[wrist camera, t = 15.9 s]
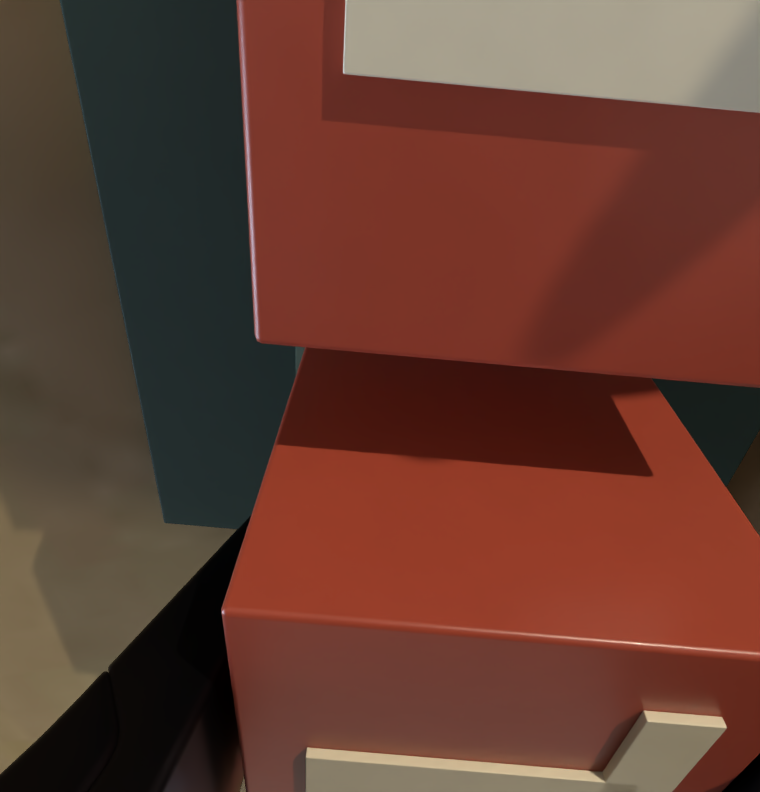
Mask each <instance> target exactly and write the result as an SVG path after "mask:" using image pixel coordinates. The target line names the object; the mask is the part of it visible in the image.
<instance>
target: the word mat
mask: <svg viewBox="0 0 760 792" xmlns="http://www.w3.org/2000/svg"><path fill="white" fill-rule="evenodd" d="M60 3H61V8H62V13H63V18H64V23H65V28H66V33H67V38H68V43H69V48H70V53H71V58H72V63H73V68H74V73H75V78H76V83H77V88H78V93H79V98H80V103H81V108H82V113H83V118H84V123H85V128H86V133H87V138H88V143H89V148H90V153H91V158H92V163H93V168H94V173H95V178H96V183H97V188H98V193H99V198H100V203H101V208H102V213H103V218H104V223H105V228H106V233H107V238H108V243H109V248H110V253H111V258H112V263H113V268H114V273H115V278H116V283H117V288H118V293H119V298H120V303H121V308H122V313H123V318H124V323H125V328H126V333H127V338H128V343H129V348H130V353H131V358H132V363H133V368H134V373H135V378H136V383H137V388H138V393H139V398H140V403H141V408H142V413H143V418H144V423H145V428H146V433H147V438H148V443H149V448H150V453H151V458H152V463H153V468H154V473H155V478H156V483H157V488H158V493H159V498H160V503H161V508H162V513H163V518H164V522H165V523H172V524H184V525H195V526H207V527H219V528H230V529H238V528H239V527H240V526H241V525H242V524H243V523H244V522H245V521H246V520H247V519H248V518H249V517H250V516H251V514H252V512H253V509H254V505H255V502H256V499H257V496H258V493H259V490H260V487H261V484H262V480H263V477H264V474H265V471H266V468H267V465H268V462H269V459H270V456H271V452H272V449H273V446H274V443H275V440H276V437H277V434H278V431H279V427H280V424H281V421H282V418H283V415H284V412H285V409H286V406H287V402H288V399H289V396H290V393H291V390H292V387H293V384H294V381H295V377H296V374H297V371H298V368H299V365H300V362H301V359H302V356H303V352H304V349H305V347H296V346H285V345H274V344H263V343H260V342H258V341H257V339H256V337H255V333H254V314H253V296H252V278H251V259H250V241H249V223H248V204H247V186H246V168H245V149H244V131H243V113H242V94H241V76H240V58H239V39H238V21H237V3H236V0H60ZM652 380H653V381H654V383H655V384H656V386H657V387H658V388H659V390H660V391H661V393H662V394H663V396H664V397H665V399H666V400H667V402H668V403H669V405H670V406H671V407H672V409H673V410H674V412H675V413H676V415H677V416H678V418H679V419H680V421H681V422H682V424H683V425H684V427H685V428H686V429H687V431H688V432H689V434H690V435H691V437H692V438H693V440H694V441H695V443H696V444H697V446H698V447H699V448H700V450H701V451H702V453H703V454H704V456H705V457H706V459H707V460H708V462H709V463H710V465H711V466H712V467H713V469H714V470H715V472H716V473H717V475H718V476H719V478H720V479H721V481H722V482H723V484H724V485H725V486H726V487H727V485H728V483H729V482H730V480H731V478H732V477H733V475H734V473H735V471H736V470H737V468H738V466H739V464H740V463H741V461H742V459H743V458H744V456H745V454H746V452H747V451H748V449H749V447H750V445H751V444H752V442H753V440H754V439H755V437H756V435H757V433H758V432H759V430H760V388H755V387H744V386H733V385H722V384H711V383H699V382H688V381H677V380H666V379H655V378H652Z"/></svg>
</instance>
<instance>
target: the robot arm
mask: <svg viewBox="0 0 760 792" xmlns="http://www.w3.org/2000/svg"><path fill="white" fill-rule="evenodd" d="M251 515H252V514H251ZM250 518H251V516H250V517H249V518H248V519H247V520H246V521H245V522H244V523H243V524H242V525H241V526H240V527H239V528H238V529H237V530H236V532H235V533H234V534H233V535H232V536H231V537H230V538H229V539H228V540H227V541H226V542H225V543H224V544H223V545H222V546H221V547H220V549H219V550H218V551H217V552H216V553H215V554H214V555H213V556H212V557H211V558H210V559H209V560H208V561H207V562H206V563H205V565H204V566H203V567H202V568H201V569H200V570H199V571H198V572H197V573H196V574H195V575H194V576H193V577H192V578H191V579H190V580H189V582H188V583H187V584H186V585H185V586H184V587H183V588H182V589H181V590H180V591H179V592H178V593H177V594H176V595H175V596H174V598H173V599H172V600H171V601H170V602H169V603H168V604H167V605H166V606H165V607H164V608H163V609H162V610H161V611H160V612H159V613H158V615H157V616H156V617H155V618H154V619H153V620H152V621H151V622H150V623H149V624H148V625H147V626H146V627H145V628H144V629H143V631H142V632H141V633H140V634H139V635H138V636H137V637H136V638H135V639H134V640H133V641H132V642H131V643H130V644H129V645H128V646H127V648H126V649H125V650H124V651H123V652H122V653H121V654H120V655H119V656H118V657H117V658H116V659H115V660H114V661H113V662H112V664H111V665H110V666H109V667H108V671H109V673H108V672H103V673H102V674H101V675H100V676H99V677H98V678H97V679H96V680H95V681H94V682H93V683H92V684H91V686H90V687H89V688H88V689H87V690H86V691H85V692H84V693H83V694H82V695H81V696H80V697H79V698H78V699H77V700H76V701H75V702H74V703H73V704H72V705H71V706H70V707H69V708H68V710H67V711H66V712H65V713H64V714H63V715H62V716H61V717H60V718H59V719H58V720H57V721H56V722H55V723H54V724H53V725H52V726H51V727H50V728H49V729H48V730H47V731H46V732H45V733H44V734H43V735H42V736H41V737H40V738H39V739H38V740H37V741H35V742H34V743H33V744H32V745H31V746H30V747H29V748H28V749H27V750H26V751H25V752H24V753H23V754H22V755H20V756H19V757H18V758H17V759H16V760H15V761H14V762H13V763H12V764H11V765H10V766H9V767H8V768H7V769H5V770H4V771H3V772H2V773H1V774H0V792H240V788H241V785H242V781H243V777H244V772H243V765H242V757H241V750H240V743H239V736H238V728H237V721H236V714H235V706H234V699H233V692H232V685H231V677H230V670H229V663H228V656H227V648H226V641H225V634H224V626H223V619H222V612H221V609H222V605H223V602H224V599H225V596H226V593H227V590H228V587H229V584H230V580H231V577H232V574H233V571H234V568H235V565H236V562H237V559H238V555H239V552H240V549H241V546H242V543H243V540H244V537H245V534H246V530H247V527H248V524H249V521H250ZM722 792H760V754H759V755H758V756H757V757H756V758H755V759H754V760H753V761H752V762H751V763H750V764H749V765H748V766H747V767H746V768H745V769H744V770H743V771H742V772H741V773H740V774H739V775H738V776H737V777H736V778H735V779H734V780H733V781H732V782H731V783H730V784H729V785H728V786H727V787H726V788H725V789H724V790H723V791H722Z"/></svg>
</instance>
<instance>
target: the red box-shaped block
mask: <svg viewBox="0 0 760 792" xmlns="http://www.w3.org/2000/svg"><path fill="white" fill-rule="evenodd" d="M236 3H237V21H238V39H239V58H240V76H241V94H242V113H243V131H244V149H245V168H246V186H247V204H248V223H249V241H250V259H251V278H252V296H253V314H254V333H255V337H256V339H257V341H258V342H260V343H263V344H274V345H285V346H296V347H308V348H319V349H330V350H341V351H352V352H363V353H375V354H386V355H397V356H408V357H419V358H431V359H442V360H453V361H464V362H475V363H487V364H498V365H509V366H520V367H531V368H543V369H554V370H565V371H576V372H587V373H599V374H610V375H621V376H632V377H643V378H655V379H666V380H677V381H688V382H699V383H711V384H722V385H733V386H744V387H755V388H760V0H236Z"/></svg>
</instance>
